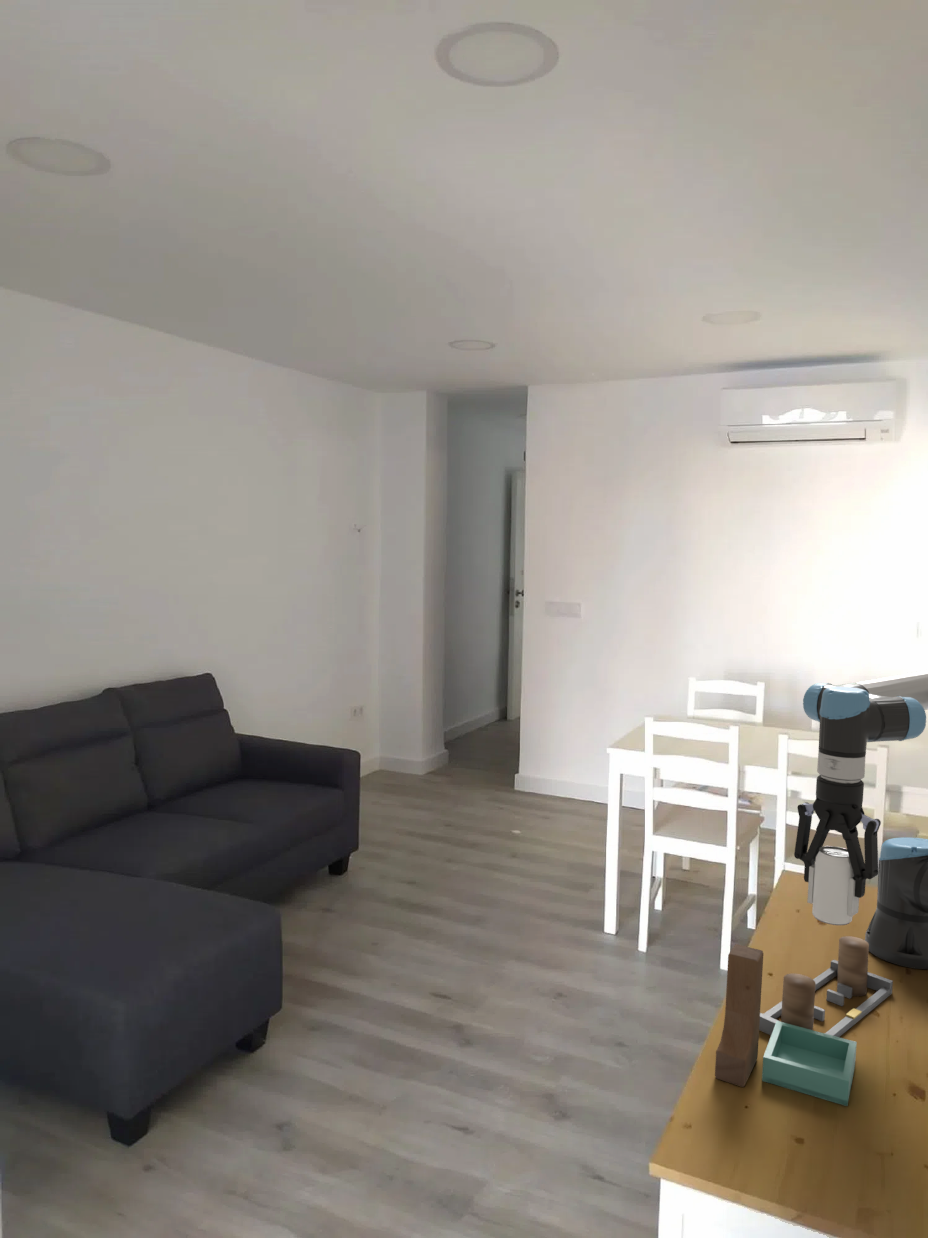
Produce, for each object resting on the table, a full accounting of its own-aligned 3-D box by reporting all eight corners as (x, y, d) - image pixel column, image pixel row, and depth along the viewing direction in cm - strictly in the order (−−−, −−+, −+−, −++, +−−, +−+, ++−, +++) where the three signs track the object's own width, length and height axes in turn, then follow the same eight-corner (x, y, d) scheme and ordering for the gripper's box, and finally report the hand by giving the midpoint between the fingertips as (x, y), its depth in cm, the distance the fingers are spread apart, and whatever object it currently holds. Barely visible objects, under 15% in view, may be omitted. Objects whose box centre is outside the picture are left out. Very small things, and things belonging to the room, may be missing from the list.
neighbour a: (852, 980, 168) (854, 934, 167) (872, 993, 163) (875, 946, 162) (831, 985, 166) (833, 938, 165) (851, 998, 161) (853, 950, 160)
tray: (775, 1043, 146) (776, 1020, 146) (855, 1065, 140) (856, 1042, 140) (761, 1081, 135) (763, 1057, 135) (847, 1106, 130) (849, 1081, 129)
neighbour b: (796, 1022, 153) (799, 971, 152) (819, 1037, 148) (822, 985, 147) (774, 1027, 151) (777, 976, 150) (795, 1043, 146) (799, 990, 145)
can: (855, 928, 152) (860, 859, 151) (815, 924, 153) (819, 855, 152) (847, 913, 158) (851, 847, 157) (808, 909, 159) (813, 843, 158)
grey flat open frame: (832, 971, 171) (833, 959, 171) (892, 993, 163) (893, 981, 163) (753, 1027, 150) (753, 1014, 150) (817, 1056, 142) (818, 1042, 142)
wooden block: (744, 1089, 133) (750, 973, 132) (714, 1079, 136) (720, 965, 134) (757, 1059, 141) (764, 950, 139) (729, 1051, 143) (735, 942, 142)
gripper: (776, 769, 158) (770, 896, 160) (889, 793, 144) (880, 932, 146) (796, 763, 163) (790, 885, 165) (907, 785, 149) (898, 919, 151)
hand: (832, 907), depth 155 cm, fingers closed on can, 6 cm apart
